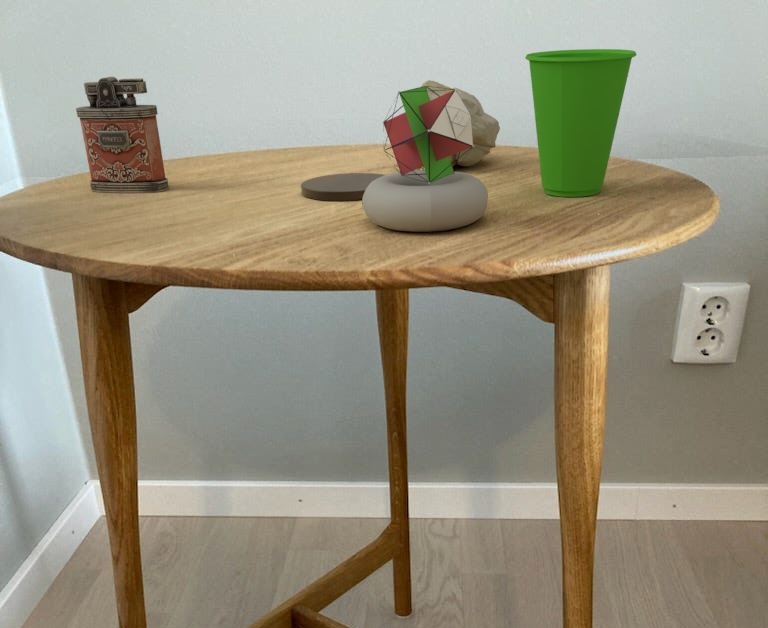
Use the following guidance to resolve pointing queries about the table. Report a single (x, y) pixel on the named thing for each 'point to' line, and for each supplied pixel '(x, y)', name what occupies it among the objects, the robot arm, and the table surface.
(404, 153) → the geometric puzzle
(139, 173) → the lighter
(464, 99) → the beige lumpy stone
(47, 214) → the table surface
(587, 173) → the cup
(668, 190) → the table surface
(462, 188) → the donut
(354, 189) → the walnut coaster
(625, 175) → the table surface
